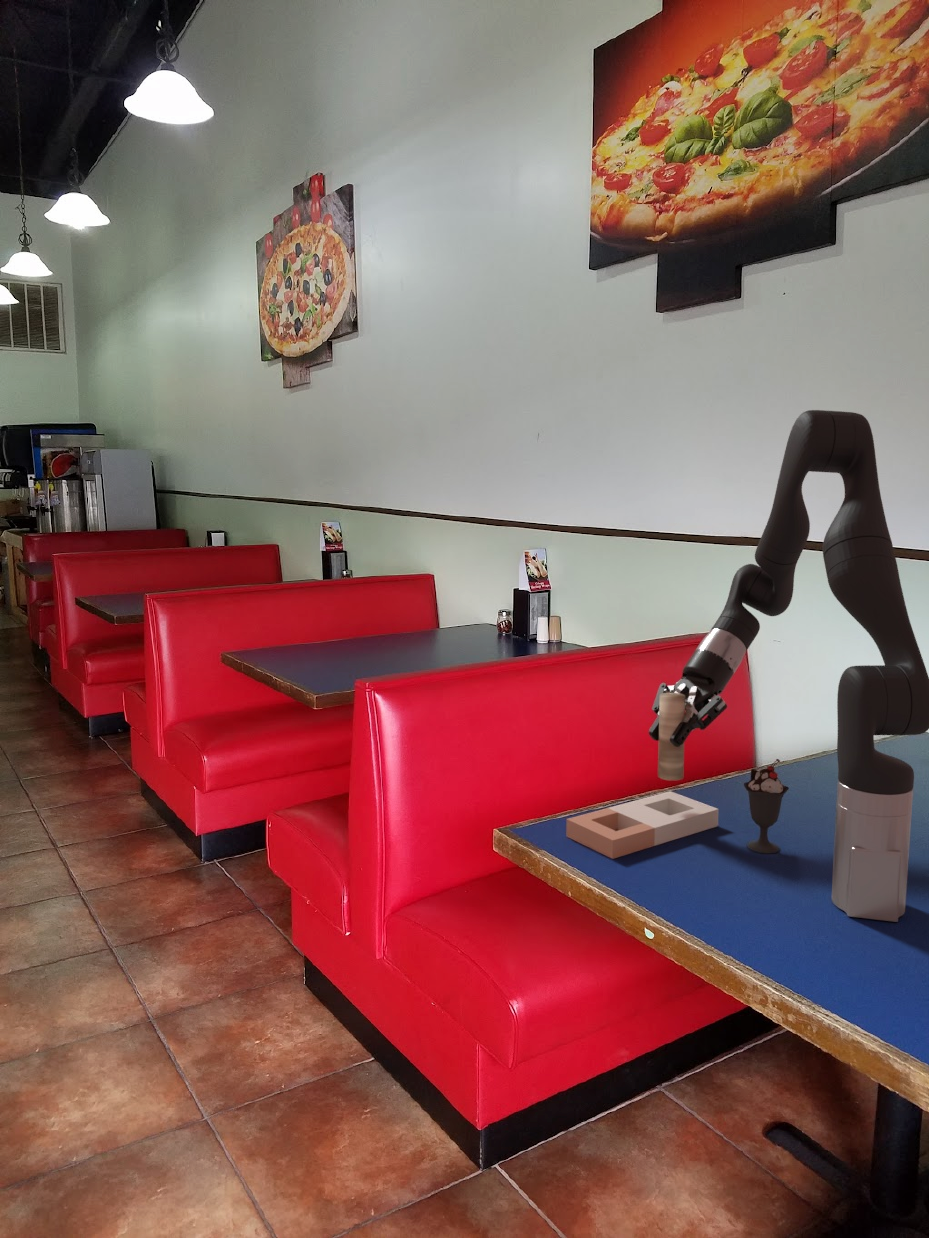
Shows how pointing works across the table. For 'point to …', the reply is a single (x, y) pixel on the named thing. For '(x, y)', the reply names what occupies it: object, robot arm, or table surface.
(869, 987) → the table surface
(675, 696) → the peg
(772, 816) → the sundae
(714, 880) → the table surface
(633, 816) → the dock board
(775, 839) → the table surface
